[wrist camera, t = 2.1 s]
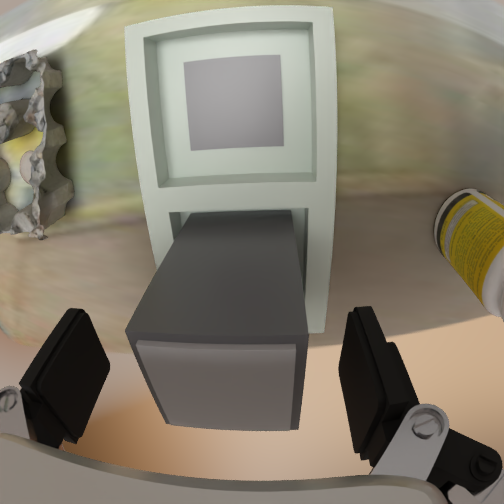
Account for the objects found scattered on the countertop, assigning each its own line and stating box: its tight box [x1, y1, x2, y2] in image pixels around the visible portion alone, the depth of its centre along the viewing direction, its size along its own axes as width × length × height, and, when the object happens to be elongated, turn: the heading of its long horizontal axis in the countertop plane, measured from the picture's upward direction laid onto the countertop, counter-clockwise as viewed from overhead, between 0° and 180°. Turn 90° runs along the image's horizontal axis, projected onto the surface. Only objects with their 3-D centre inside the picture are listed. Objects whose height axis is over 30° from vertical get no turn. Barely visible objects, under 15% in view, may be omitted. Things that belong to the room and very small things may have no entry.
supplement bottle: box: [434, 189, 504, 321], centre depth 12 cm, size 5×5×8 cm
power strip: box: [124, 5, 337, 333], centre depth 14 cm, size 15×8×4 cm, turn 3°
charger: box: [125, 210, 309, 431], centre depth 12 cm, size 5×5×8 cm
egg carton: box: [0, 50, 74, 240], centre depth 13 cm, size 11×8×4 cm
